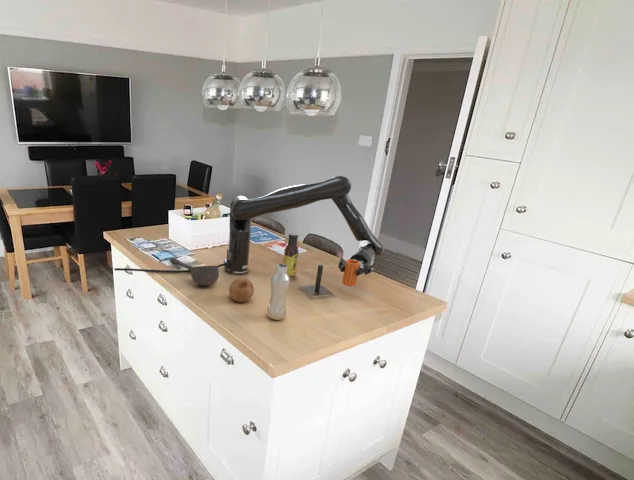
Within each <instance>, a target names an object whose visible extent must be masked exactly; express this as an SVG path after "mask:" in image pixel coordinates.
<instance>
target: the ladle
mask: <svg viewBox="0 0 634 480" xmlns="http://www.w3.org/2000/svg"><path fill="white" fill-rule="evenodd" d="M169 261H170V262H171V263H173V264H175V265H176V266H180V267H182V268H185V269H186V270H190V271H191V272H190V274H191V278H192V281H193V282H194V283H195V284H196V285H198V286H200V287H206V286H211V285H214V284H215V283H217V281H218V279H219V276H220V275H219V274H220V272H219V268H218V265H219V264H218V265H214V264H213V265H198V266H193V265H192V264H191V265H190V264H187V263H185V262H183V261H181V260H180V259H177V258H175V257H170V258H169Z"/></svg>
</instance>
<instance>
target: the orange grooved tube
mask: <svg viewBox="0 0 634 480" xmlns="http://www.w3.org/2000/svg"><path fill="white" fill-rule="evenodd" d="M345 261H346V263H345V269H344V272H343V274H342V281H341V283H342V285H344V286H347V287H355V286H356V285H357V280H358V276H356V272H357V270H358V269H359V266H360V262H359V261H356V260H349V259H346V260H345Z"/></svg>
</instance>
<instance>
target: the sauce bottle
mask: <svg viewBox="0 0 634 480" xmlns="http://www.w3.org/2000/svg"><path fill="white" fill-rule="evenodd" d="M298 238H299V234H298V233H296V232H289V233H288V242H287V245H286V246H285V248H284V254H283V261H282V264H285V265H287V272H286V273H287V274H288V276H289V278H290V279H293V278H295V277H296V275H297V268H298V260H299V254H300V253H299V252H300V251H299V248H298Z"/></svg>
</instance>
